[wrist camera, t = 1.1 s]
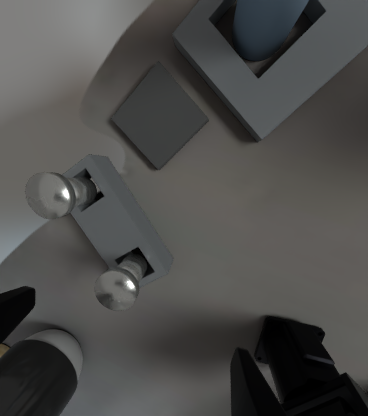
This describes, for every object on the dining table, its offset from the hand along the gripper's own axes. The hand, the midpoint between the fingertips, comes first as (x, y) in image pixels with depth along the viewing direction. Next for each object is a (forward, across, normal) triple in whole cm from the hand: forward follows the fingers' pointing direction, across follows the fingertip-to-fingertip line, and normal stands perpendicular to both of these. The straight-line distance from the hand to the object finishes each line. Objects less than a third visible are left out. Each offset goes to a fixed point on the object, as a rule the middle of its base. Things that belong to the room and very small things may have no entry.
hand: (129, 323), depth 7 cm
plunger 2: (+10, +3, +4) cm, 12 cm away
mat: (+13, +4, -11) cm, 18 cm away
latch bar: (+13, +7, +1) cm, 15 cm away
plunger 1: (+10, +10, -2) cm, 14 cm away
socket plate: (+13, -5, -19) cm, 24 cm away
